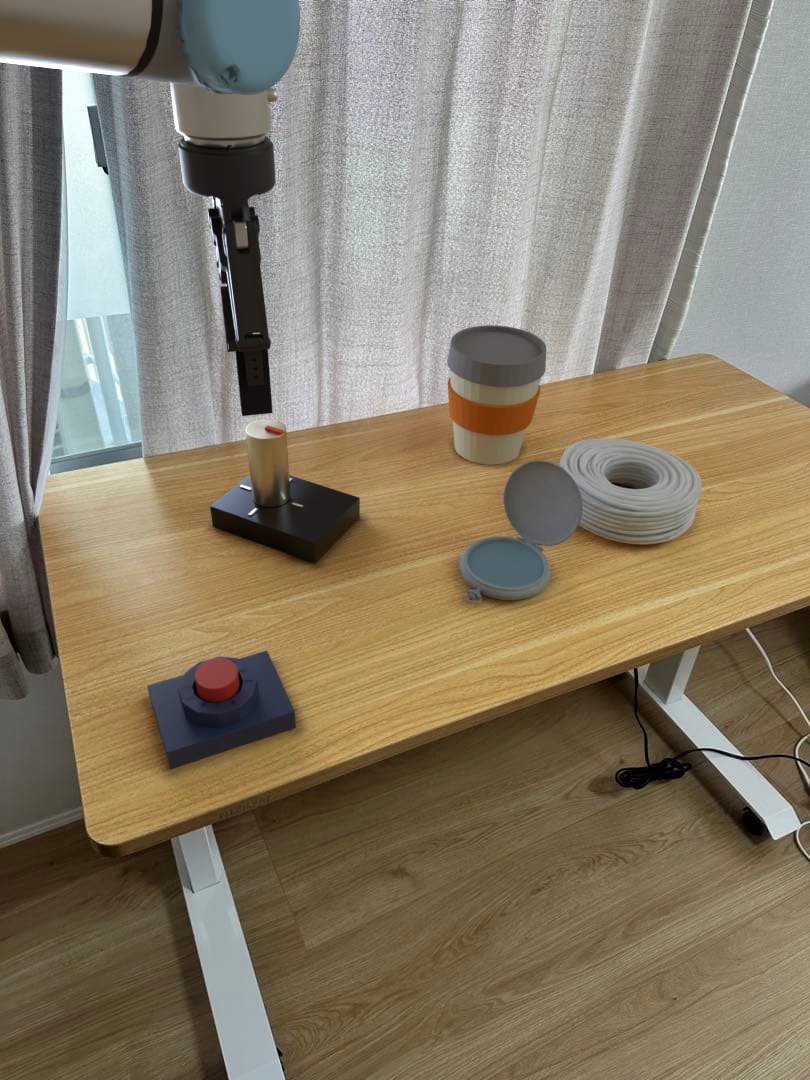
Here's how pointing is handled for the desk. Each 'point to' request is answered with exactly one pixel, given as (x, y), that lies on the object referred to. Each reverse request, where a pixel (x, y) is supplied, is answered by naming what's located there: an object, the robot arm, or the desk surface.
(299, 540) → the black dial base
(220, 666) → the red button
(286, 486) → the lock knob
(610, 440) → the cable
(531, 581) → the pocket watch
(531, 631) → the desk surface
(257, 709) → the button block
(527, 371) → the reusable coffee cup
